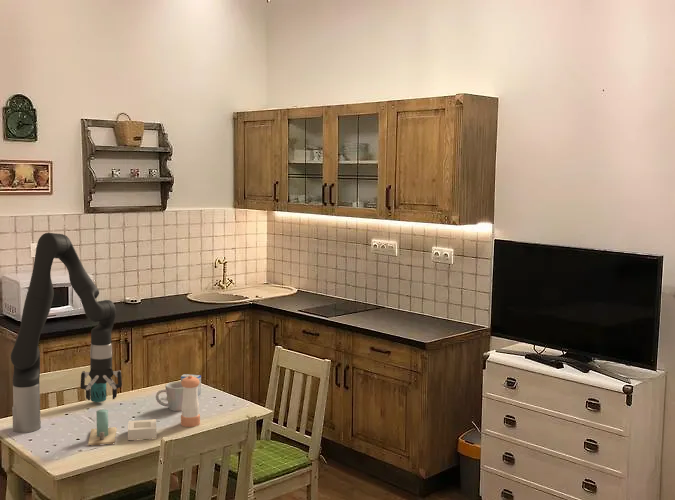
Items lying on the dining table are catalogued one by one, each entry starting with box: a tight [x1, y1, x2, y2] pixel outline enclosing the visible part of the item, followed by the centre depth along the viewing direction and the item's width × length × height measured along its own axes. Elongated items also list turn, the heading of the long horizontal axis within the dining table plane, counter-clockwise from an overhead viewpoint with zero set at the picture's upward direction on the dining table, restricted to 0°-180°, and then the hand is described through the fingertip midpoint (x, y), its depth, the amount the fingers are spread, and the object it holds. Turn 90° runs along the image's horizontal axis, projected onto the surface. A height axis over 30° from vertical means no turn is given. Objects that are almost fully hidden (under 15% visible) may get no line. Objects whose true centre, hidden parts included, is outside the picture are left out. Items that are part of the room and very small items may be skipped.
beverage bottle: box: [90, 378, 108, 403], centre depth 310 cm, size 6×7×20 cm
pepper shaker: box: [180, 374, 201, 428], centre depth 288 cm, size 7×7×19 cm
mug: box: [155, 380, 183, 412], centre depth 305 cm, size 10×15×10 cm
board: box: [87, 426, 117, 447], centre depth 272 cm, size 9×15×4 cm, turn 14°
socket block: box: [127, 418, 157, 441], centre depth 276 cm, size 10×10×4 cm
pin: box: [95, 409, 109, 437], centre depth 272 cm, size 4×4×9 cm
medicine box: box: [180, 373, 202, 397], centre depth 325 cm, size 8×4×9 cm, turn 81°
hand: (101, 399), depth 271 cm, fingers open, 8 cm apart
